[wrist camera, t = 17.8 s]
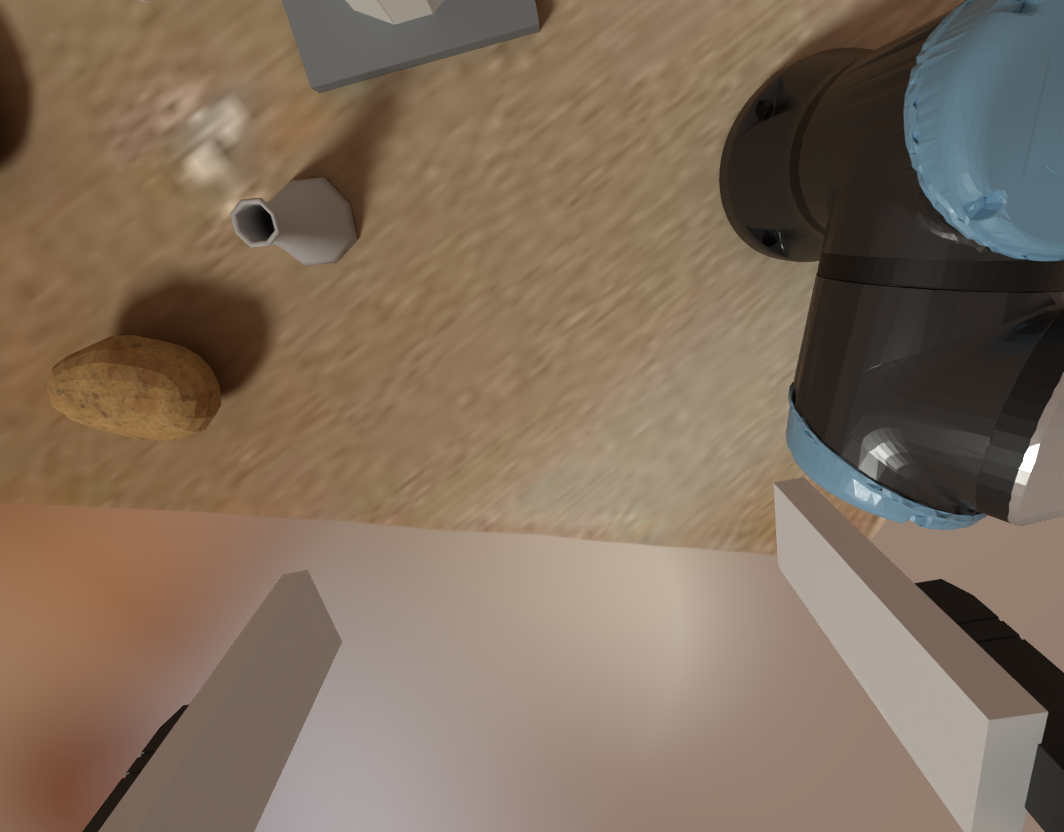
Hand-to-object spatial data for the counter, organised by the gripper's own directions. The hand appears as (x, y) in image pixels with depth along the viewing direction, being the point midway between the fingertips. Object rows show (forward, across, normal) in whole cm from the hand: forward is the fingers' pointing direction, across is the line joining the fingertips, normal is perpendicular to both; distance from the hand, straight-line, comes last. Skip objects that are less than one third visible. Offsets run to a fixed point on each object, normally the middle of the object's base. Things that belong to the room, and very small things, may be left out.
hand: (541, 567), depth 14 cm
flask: (+35, +17, -13) cm, 41 cm away
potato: (+35, +36, -3) cm, 50 cm away
